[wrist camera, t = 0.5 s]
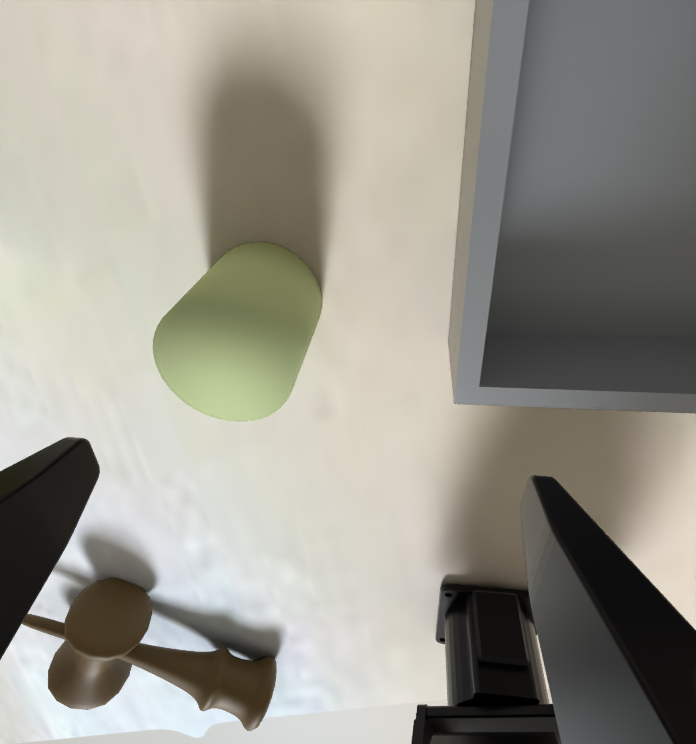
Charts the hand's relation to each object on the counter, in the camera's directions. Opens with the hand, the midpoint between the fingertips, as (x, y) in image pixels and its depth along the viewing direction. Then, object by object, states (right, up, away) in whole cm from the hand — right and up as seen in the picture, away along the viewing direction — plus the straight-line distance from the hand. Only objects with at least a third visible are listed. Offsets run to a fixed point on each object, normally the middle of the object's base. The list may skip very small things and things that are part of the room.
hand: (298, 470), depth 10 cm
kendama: (-14, -18, +29) cm, 37 cm away
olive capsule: (-3, +5, +11) cm, 13 cm away
